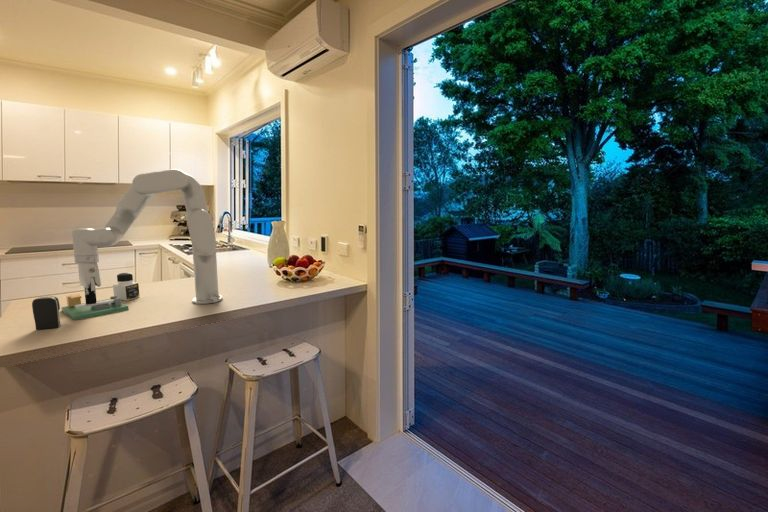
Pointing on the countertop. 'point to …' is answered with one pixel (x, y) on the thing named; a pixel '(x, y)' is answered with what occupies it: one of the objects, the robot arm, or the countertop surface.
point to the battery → (46, 312)
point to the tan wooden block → (73, 300)
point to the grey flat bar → (95, 303)
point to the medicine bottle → (126, 287)
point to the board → (95, 309)
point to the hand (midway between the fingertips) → (91, 303)
